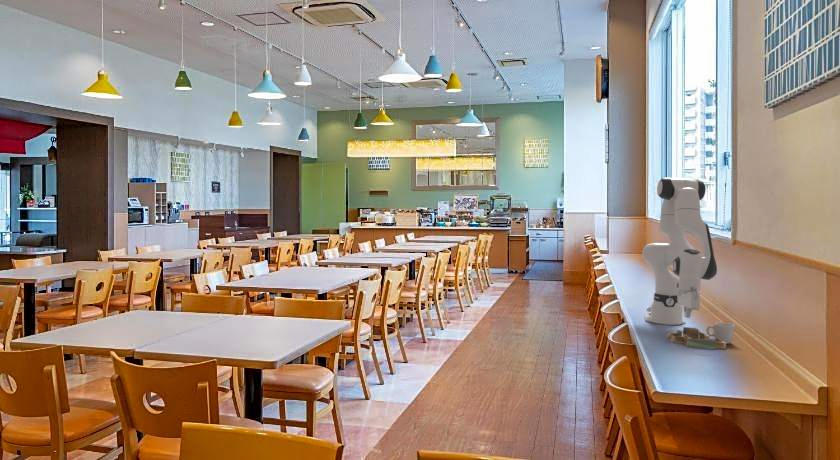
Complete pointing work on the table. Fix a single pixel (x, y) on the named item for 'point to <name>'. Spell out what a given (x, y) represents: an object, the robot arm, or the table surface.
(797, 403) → the table surface
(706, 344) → the wooden flat frame
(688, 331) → the block
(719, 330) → the cup
